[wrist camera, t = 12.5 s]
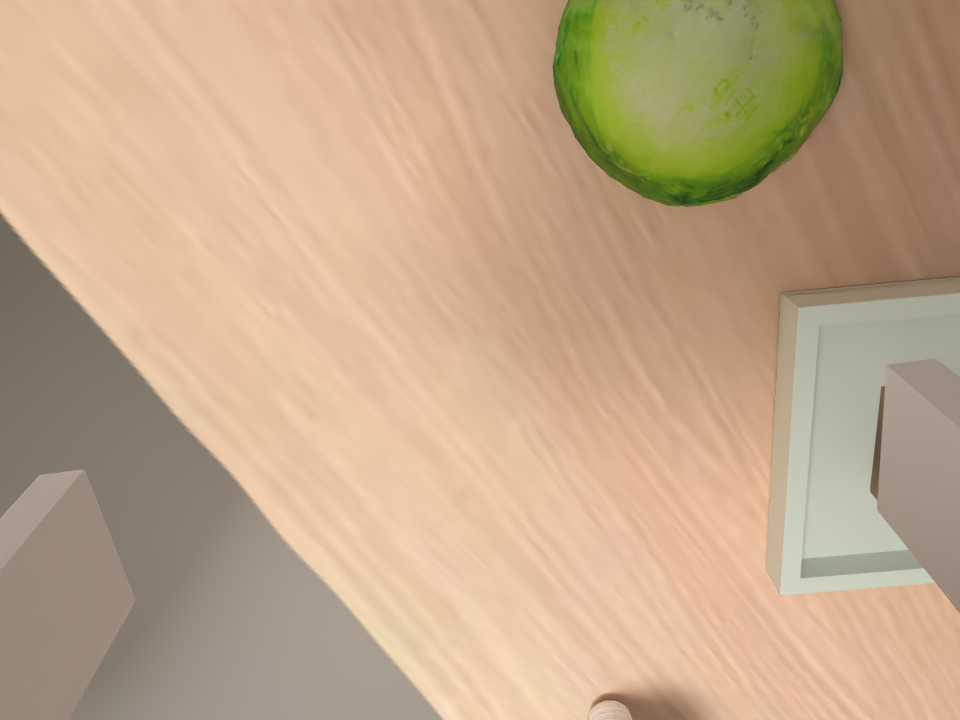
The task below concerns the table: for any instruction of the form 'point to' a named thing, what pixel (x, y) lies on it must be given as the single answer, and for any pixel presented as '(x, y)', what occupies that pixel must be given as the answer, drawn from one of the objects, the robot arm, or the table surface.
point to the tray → (845, 428)
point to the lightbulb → (609, 711)
